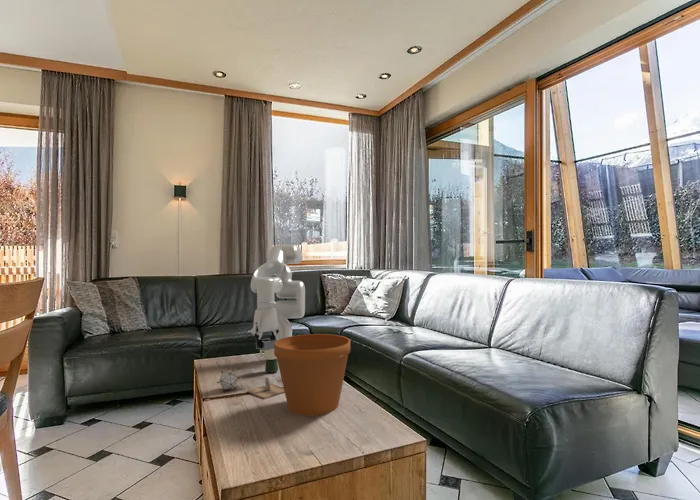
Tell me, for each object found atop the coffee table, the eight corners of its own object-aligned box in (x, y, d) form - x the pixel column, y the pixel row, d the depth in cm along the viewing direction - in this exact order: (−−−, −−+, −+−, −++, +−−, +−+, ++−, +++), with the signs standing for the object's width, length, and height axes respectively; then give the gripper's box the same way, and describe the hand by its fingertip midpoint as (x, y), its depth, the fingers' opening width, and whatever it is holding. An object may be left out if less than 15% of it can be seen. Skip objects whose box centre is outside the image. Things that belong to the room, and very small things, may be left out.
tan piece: (271, 385, 169) (271, 371, 169) (288, 391, 160) (288, 377, 161) (247, 392, 160) (246, 378, 160) (264, 399, 152) (264, 384, 152)
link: (268, 346, 177) (268, 338, 177) (276, 348, 173) (276, 340, 173) (256, 348, 172) (256, 340, 173) (264, 350, 168) (264, 342, 168)
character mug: (281, 368, 193) (281, 342, 194) (284, 372, 187) (283, 345, 187) (259, 371, 190) (259, 344, 190) (260, 375, 183) (260, 347, 183)
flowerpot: (268, 398, 152) (268, 337, 153) (336, 388, 162) (335, 331, 163) (283, 427, 126) (282, 353, 127) (363, 413, 136) (362, 345, 137)
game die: (223, 399, 163) (208, 380, 163) (237, 386, 170) (223, 368, 170) (234, 392, 158) (219, 373, 158) (248, 379, 165) (233, 360, 165)
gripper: (276, 303, 182) (277, 342, 182) (244, 307, 169) (244, 348, 169) (286, 304, 177) (287, 344, 176) (253, 308, 164) (254, 351, 164)
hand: (266, 346), depth 173 cm, fingers closed on link, 6 cm apart
